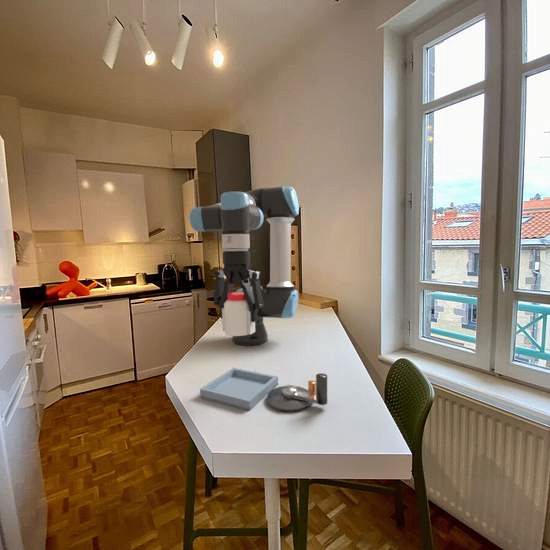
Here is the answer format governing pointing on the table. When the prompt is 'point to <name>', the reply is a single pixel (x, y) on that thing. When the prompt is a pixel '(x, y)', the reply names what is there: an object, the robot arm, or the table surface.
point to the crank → (319, 398)
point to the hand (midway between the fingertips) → (238, 331)
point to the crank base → (293, 404)
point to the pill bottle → (236, 314)
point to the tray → (239, 388)
